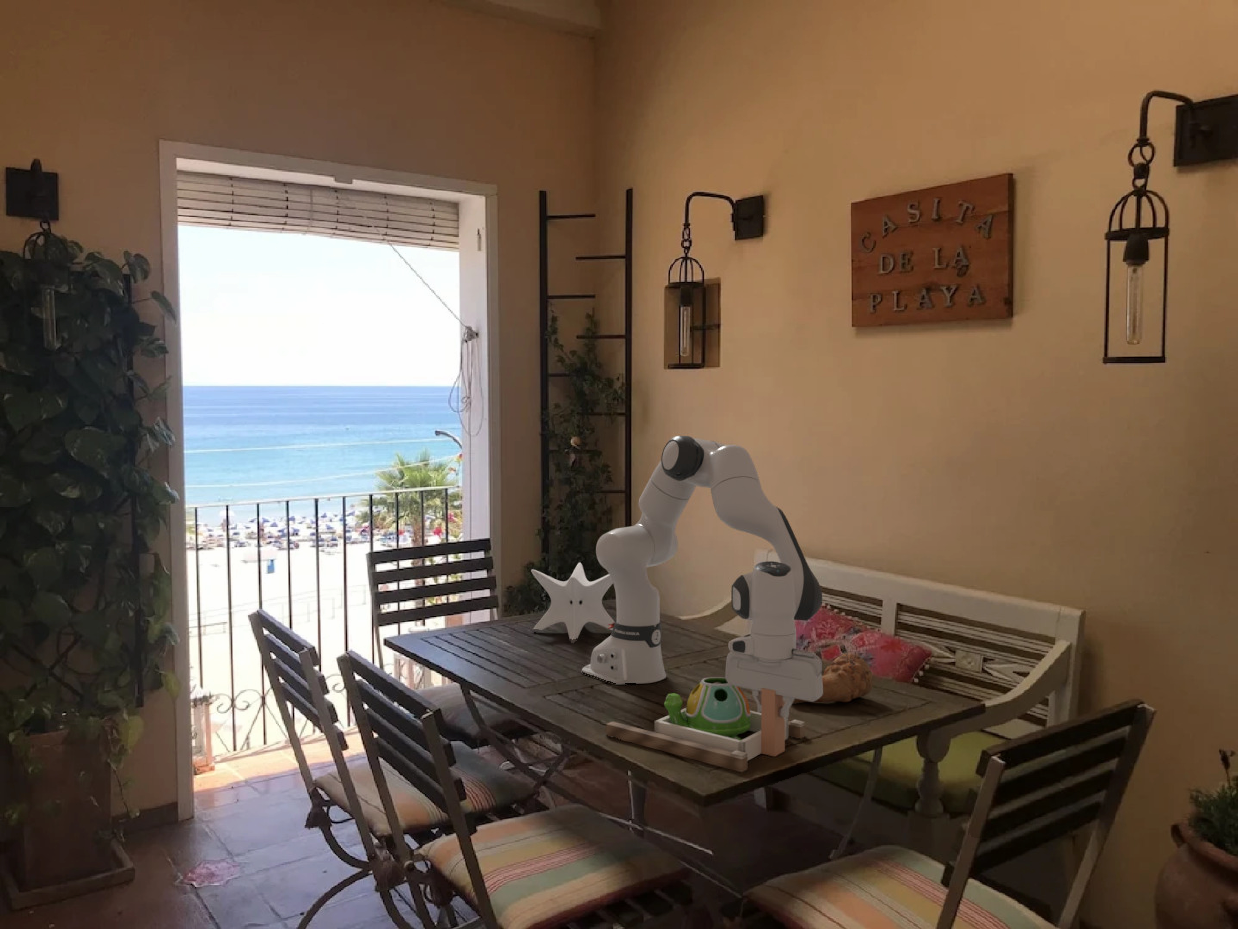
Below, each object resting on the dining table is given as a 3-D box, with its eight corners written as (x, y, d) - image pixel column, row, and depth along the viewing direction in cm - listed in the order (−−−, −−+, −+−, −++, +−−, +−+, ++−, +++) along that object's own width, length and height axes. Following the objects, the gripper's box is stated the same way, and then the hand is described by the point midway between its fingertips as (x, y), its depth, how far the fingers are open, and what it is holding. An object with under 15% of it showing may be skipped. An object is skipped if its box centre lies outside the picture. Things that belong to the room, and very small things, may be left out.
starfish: (531, 633, 290) (530, 569, 289) (580, 623, 303) (579, 562, 302) (572, 644, 275) (572, 577, 274) (622, 633, 288) (621, 569, 287)
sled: (654, 740, 192) (654, 678, 191) (703, 718, 206) (703, 660, 205) (756, 767, 177) (756, 699, 176) (801, 741, 191) (801, 678, 190)
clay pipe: (870, 727, 211) (874, 689, 224) (871, 687, 207) (875, 651, 221) (786, 717, 217) (795, 680, 230) (786, 677, 213) (795, 643, 226)
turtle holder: (660, 728, 200) (660, 673, 199) (744, 726, 201) (744, 671, 200) (667, 748, 188) (667, 690, 187) (756, 746, 189) (756, 688, 188)
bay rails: (606, 735, 195) (606, 721, 195) (675, 706, 215) (675, 693, 215) (741, 772, 175) (741, 756, 174) (804, 736, 194) (804, 721, 194)
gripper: (829, 650, 180) (828, 721, 180) (737, 635, 192) (737, 701, 193) (813, 657, 175) (813, 729, 175) (721, 641, 187) (721, 709, 188)
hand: (773, 714), depth 184 cm, fingers open, 3 cm apart
